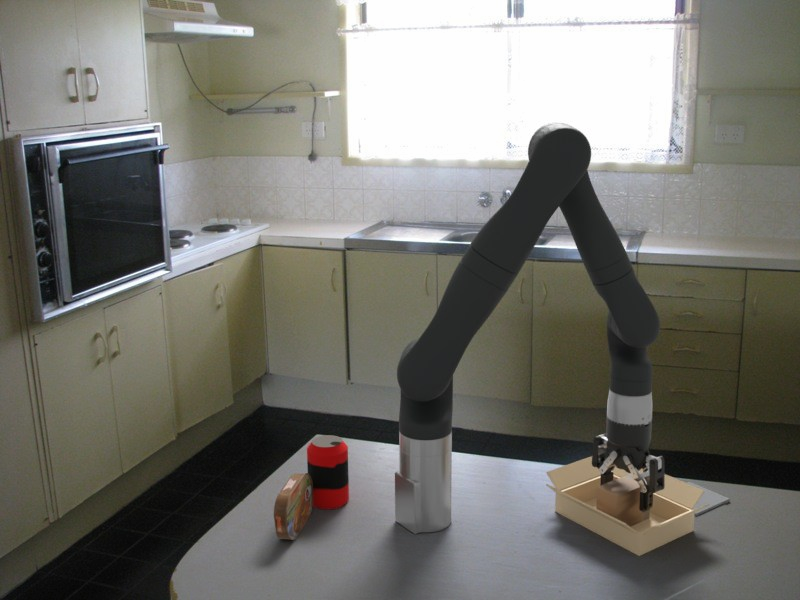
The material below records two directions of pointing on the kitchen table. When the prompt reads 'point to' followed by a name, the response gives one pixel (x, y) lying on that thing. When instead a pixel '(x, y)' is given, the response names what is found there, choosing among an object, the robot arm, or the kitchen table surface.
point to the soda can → (328, 471)
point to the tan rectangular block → (622, 500)
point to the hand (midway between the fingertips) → (625, 501)
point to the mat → (708, 500)
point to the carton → (579, 505)
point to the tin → (293, 506)
